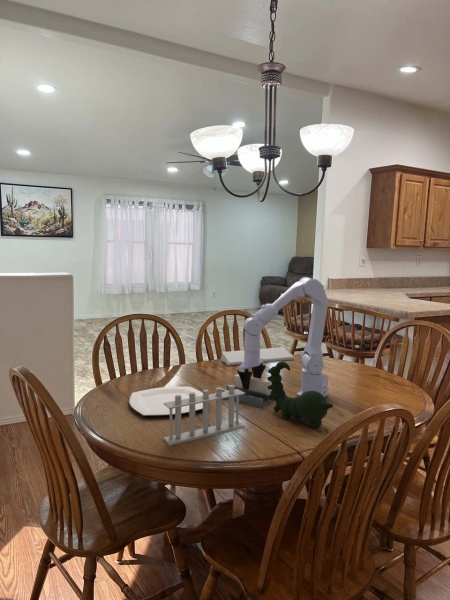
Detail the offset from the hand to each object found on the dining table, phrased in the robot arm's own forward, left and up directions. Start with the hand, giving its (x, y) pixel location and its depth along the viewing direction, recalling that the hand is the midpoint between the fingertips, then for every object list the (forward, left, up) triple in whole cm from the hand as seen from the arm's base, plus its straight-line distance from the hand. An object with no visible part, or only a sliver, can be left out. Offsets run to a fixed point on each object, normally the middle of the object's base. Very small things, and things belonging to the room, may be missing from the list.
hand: (251, 386), depth 158 cm
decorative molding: (+24, -46, -4) cm, 52 cm away
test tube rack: (-6, +35, -4) cm, 36 cm away
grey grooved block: (0, 0, -4) cm, 4 cm away
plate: (+19, +24, -4) cm, 31 cm away
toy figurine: (-24, +10, -4) cm, 26 cm away
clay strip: (0, 0, -3) cm, 3 cm away
